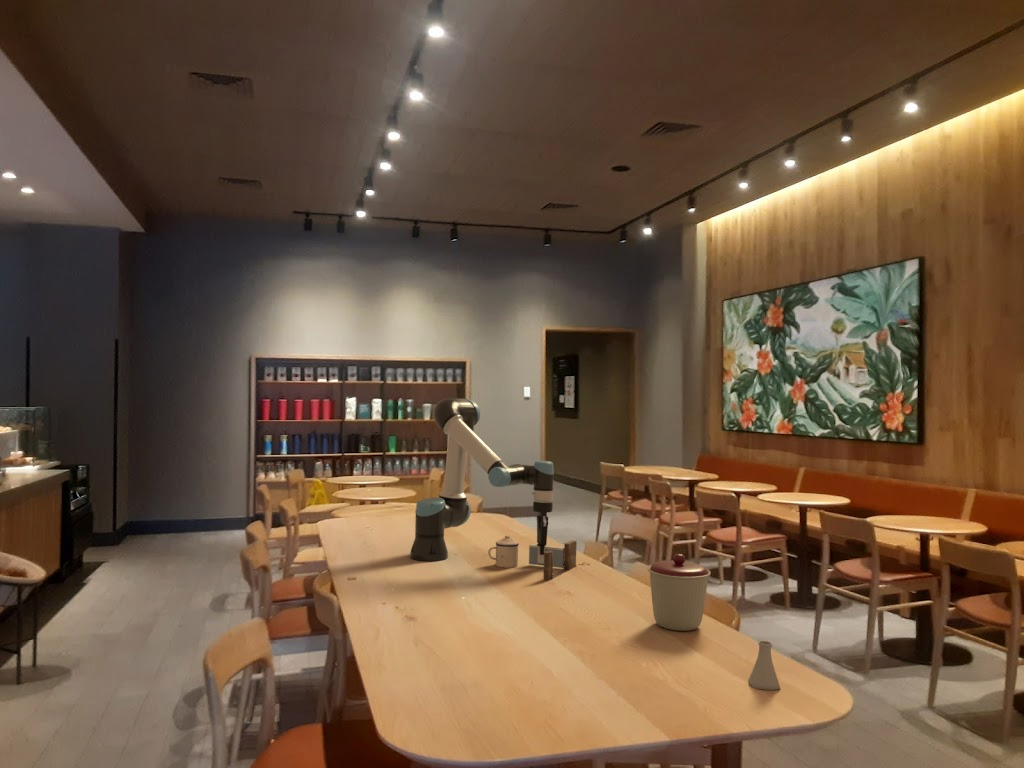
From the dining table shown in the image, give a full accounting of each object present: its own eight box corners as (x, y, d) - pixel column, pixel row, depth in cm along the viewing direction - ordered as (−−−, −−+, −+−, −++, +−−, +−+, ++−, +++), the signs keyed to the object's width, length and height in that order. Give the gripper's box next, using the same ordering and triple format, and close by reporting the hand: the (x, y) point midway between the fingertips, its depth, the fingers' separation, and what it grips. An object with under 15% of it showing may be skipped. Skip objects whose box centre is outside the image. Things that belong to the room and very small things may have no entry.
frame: (542, 580, 275) (543, 552, 276) (570, 565, 300) (571, 540, 300) (549, 580, 274) (549, 553, 274) (576, 566, 299) (577, 541, 299)
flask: (743, 679, 182) (744, 637, 182) (772, 679, 182) (773, 637, 183) (755, 691, 175) (756, 647, 175) (785, 691, 175) (786, 647, 175)
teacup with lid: (515, 562, 303) (516, 533, 303) (520, 567, 294) (521, 537, 295) (485, 563, 300) (486, 533, 301) (490, 568, 292) (491, 538, 292)
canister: (673, 639, 211) (674, 562, 212) (633, 621, 227) (635, 550, 228) (722, 631, 220) (724, 557, 220) (681, 614, 236) (683, 546, 236)
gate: (563, 567, 295) (564, 547, 295) (562, 567, 293) (563, 548, 293) (530, 563, 300) (530, 544, 300) (528, 564, 299) (529, 544, 299)
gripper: (530, 499, 301) (529, 559, 300) (535, 503, 288) (533, 566, 287) (549, 499, 301) (547, 559, 301) (555, 503, 289) (553, 566, 288)
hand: (541, 562), depth 294 cm, fingers closed
